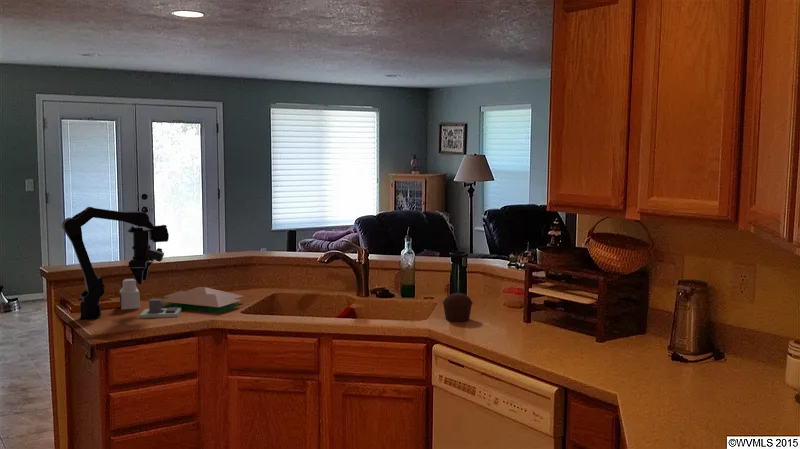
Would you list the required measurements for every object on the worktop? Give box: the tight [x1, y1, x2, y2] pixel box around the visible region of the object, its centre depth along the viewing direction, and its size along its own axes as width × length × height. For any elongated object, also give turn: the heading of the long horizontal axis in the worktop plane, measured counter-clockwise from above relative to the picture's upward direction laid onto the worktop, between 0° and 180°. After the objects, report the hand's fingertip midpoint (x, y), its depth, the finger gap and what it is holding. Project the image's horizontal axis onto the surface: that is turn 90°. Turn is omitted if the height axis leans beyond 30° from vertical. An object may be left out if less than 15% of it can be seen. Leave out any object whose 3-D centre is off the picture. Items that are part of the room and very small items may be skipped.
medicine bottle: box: [119, 277, 141, 311], centre depth 299 cm, size 7×7×12 cm
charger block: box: [148, 298, 163, 313], centre depth 286 cm, size 4×4×6 cm
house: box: [162, 286, 245, 315], centre depth 304 cm, size 23×33×8 cm
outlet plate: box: [139, 306, 183, 319], centre depth 287 cm, size 14×11×2 cm
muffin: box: [442, 292, 474, 323], centre depth 278 cm, size 12×11×10 cm
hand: (142, 282), depth 290 cm, fingers open, 9 cm apart
